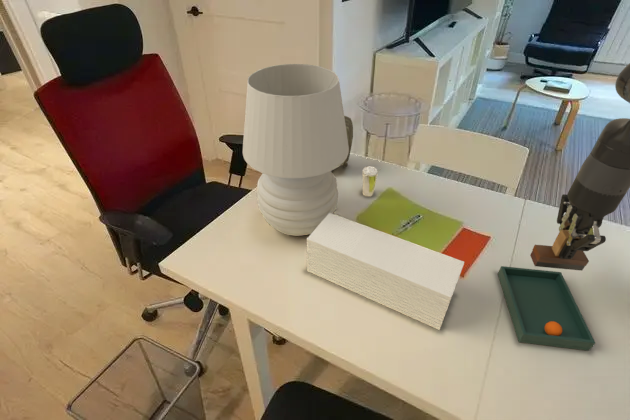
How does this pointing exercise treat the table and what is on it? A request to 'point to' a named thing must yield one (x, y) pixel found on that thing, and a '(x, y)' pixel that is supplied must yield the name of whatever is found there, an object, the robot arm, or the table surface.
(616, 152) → the robot arm
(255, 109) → the table lamp
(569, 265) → the brush
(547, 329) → the ball
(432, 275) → the stack of papers
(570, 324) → the tray
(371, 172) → the milkshake
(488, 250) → the table surface
